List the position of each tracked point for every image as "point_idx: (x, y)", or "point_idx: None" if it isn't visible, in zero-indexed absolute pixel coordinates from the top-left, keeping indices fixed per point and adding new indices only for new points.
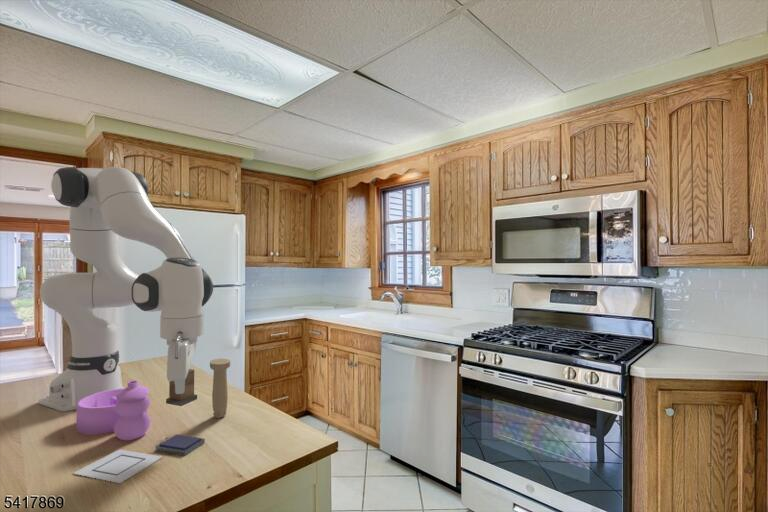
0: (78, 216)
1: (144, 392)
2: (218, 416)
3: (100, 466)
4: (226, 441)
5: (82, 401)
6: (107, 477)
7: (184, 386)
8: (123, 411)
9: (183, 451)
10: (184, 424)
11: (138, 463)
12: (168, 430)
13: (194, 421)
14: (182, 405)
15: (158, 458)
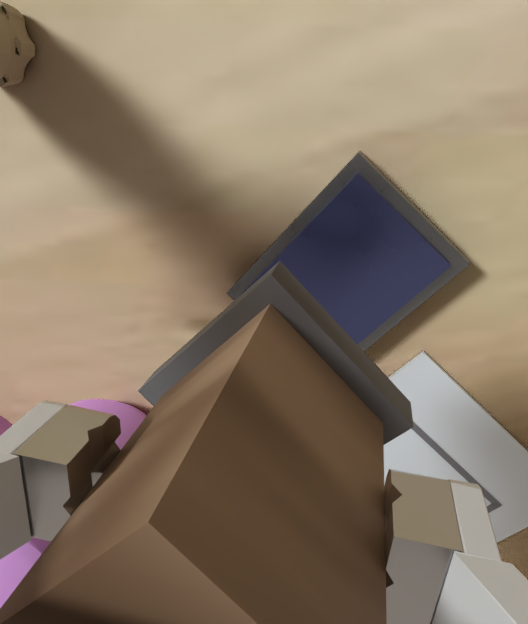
0: None
1: (9, 571)
2: (30, 54)
3: None
4: (408, 10)
5: None
6: (497, 529)
7: (489, 541)
8: None
9: (462, 269)
10: (68, 244)
11: (434, 438)
12: (118, 315)
13: (43, 194)
14: (398, 391)
15: (433, 369)
